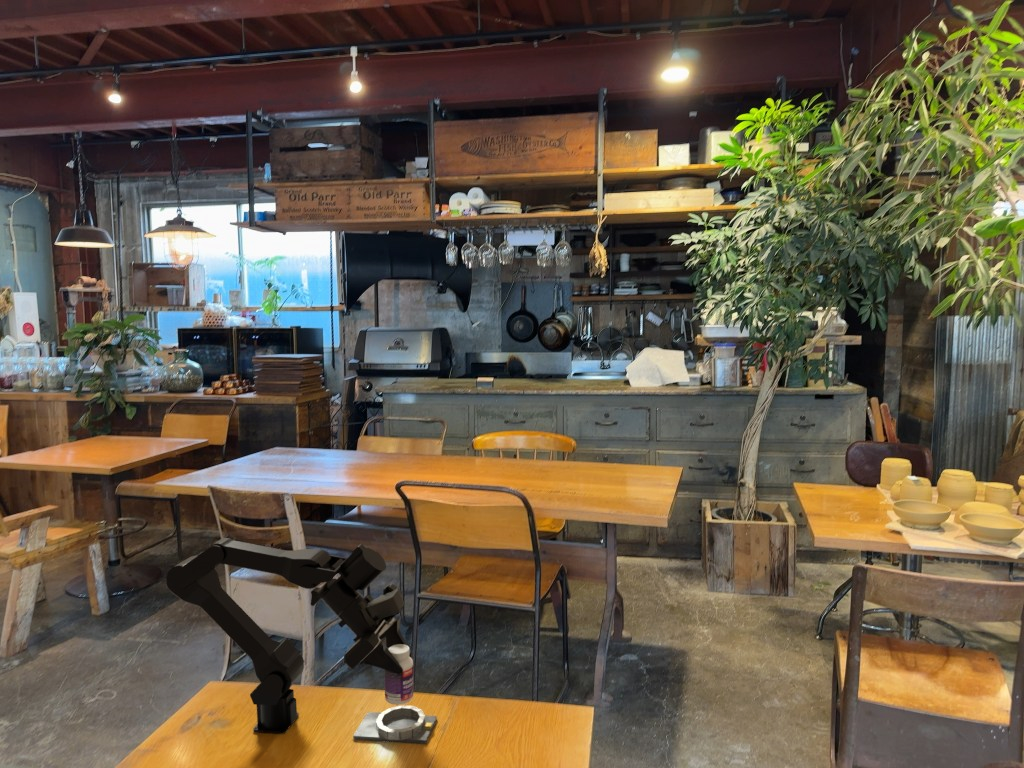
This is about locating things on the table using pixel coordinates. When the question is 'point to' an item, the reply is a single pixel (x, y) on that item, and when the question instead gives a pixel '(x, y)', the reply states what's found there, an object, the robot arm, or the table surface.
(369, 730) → the plate
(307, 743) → the table surface
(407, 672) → the pill bottle
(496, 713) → the table surface
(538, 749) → the table surface
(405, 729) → the collar
